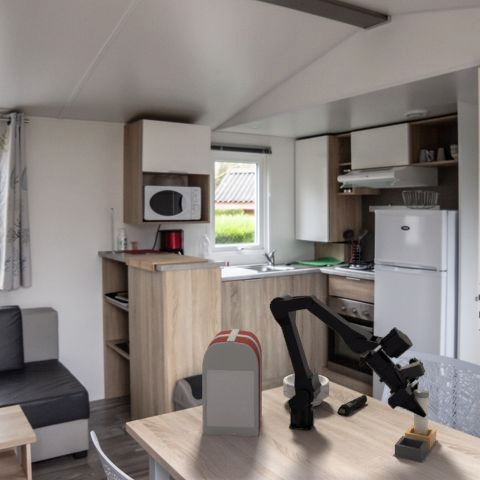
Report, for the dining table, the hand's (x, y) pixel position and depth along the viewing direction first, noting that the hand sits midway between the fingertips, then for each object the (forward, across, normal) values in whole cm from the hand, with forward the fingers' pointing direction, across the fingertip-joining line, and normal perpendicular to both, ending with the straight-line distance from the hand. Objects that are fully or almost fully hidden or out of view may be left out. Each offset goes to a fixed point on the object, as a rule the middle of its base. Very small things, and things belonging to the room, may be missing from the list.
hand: (426, 414), depth 151 cm
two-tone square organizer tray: (+5, -4, +8) cm, 10 cm away
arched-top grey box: (-32, -7, +45) cm, 56 cm away
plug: (+4, 0, +6) cm, 7 cm away
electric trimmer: (-11, +20, +24) cm, 34 cm away
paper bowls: (-22, +19, +35) cm, 46 cm away
